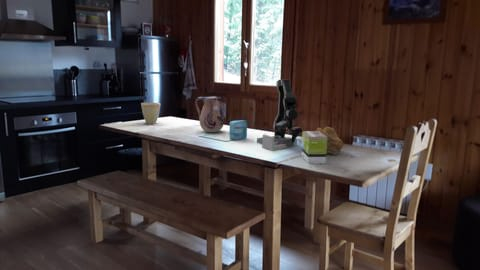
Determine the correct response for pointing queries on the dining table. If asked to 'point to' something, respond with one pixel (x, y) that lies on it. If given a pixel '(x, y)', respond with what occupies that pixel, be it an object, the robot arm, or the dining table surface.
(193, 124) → the dining table surface
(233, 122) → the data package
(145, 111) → the plant pot
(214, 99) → the ceramic pitcher
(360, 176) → the dining table surface
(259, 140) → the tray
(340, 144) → the rough brown rock
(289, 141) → the caddy
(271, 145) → the grey block
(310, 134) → the tea box
